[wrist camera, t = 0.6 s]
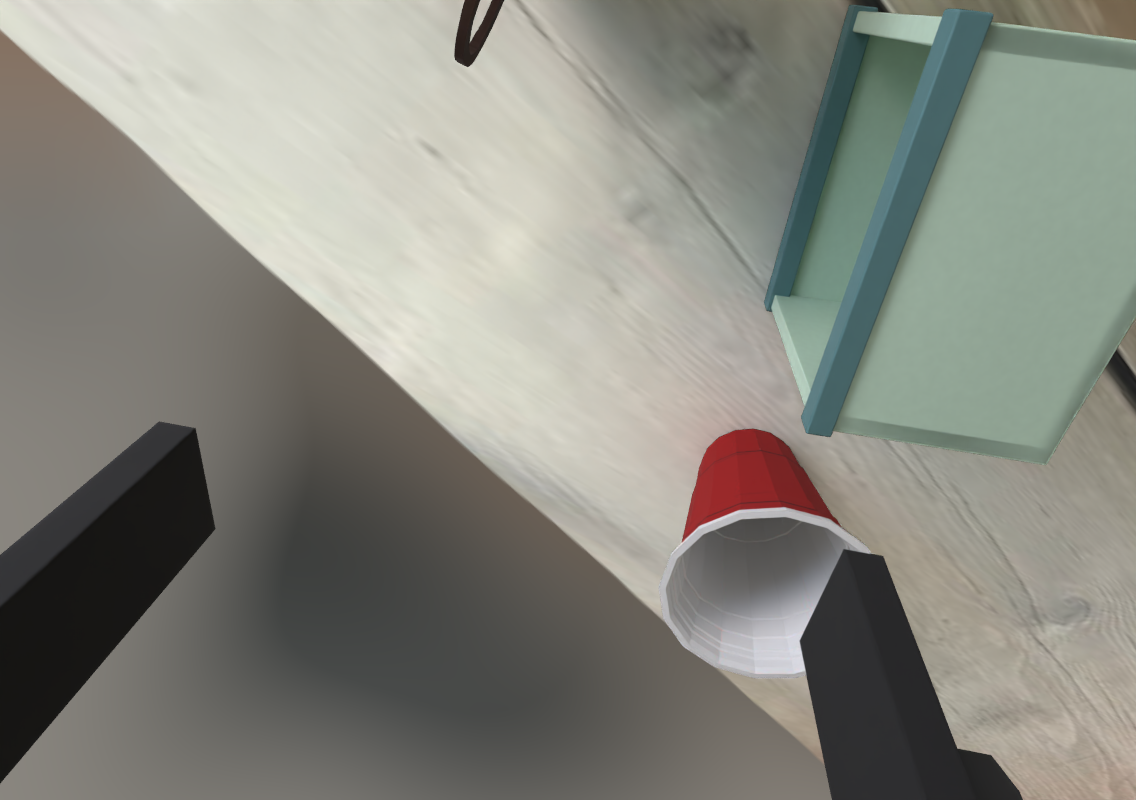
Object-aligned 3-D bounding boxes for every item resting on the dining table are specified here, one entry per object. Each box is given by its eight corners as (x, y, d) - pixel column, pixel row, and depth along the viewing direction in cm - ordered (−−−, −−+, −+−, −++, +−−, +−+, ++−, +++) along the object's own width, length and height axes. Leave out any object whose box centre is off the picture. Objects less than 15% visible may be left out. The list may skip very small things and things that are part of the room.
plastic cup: (814, 367, 39) (866, 498, 29) (850, 507, 44) (906, 662, 33) (637, 416, 42) (627, 549, 32) (688, 541, 47) (694, 692, 37)
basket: (848, 4, 30) (959, 8, 19) (1060, 31, 29) (1304, 53, 18) (763, 302, 37) (805, 434, 26) (930, 328, 37) (1046, 473, 26)
